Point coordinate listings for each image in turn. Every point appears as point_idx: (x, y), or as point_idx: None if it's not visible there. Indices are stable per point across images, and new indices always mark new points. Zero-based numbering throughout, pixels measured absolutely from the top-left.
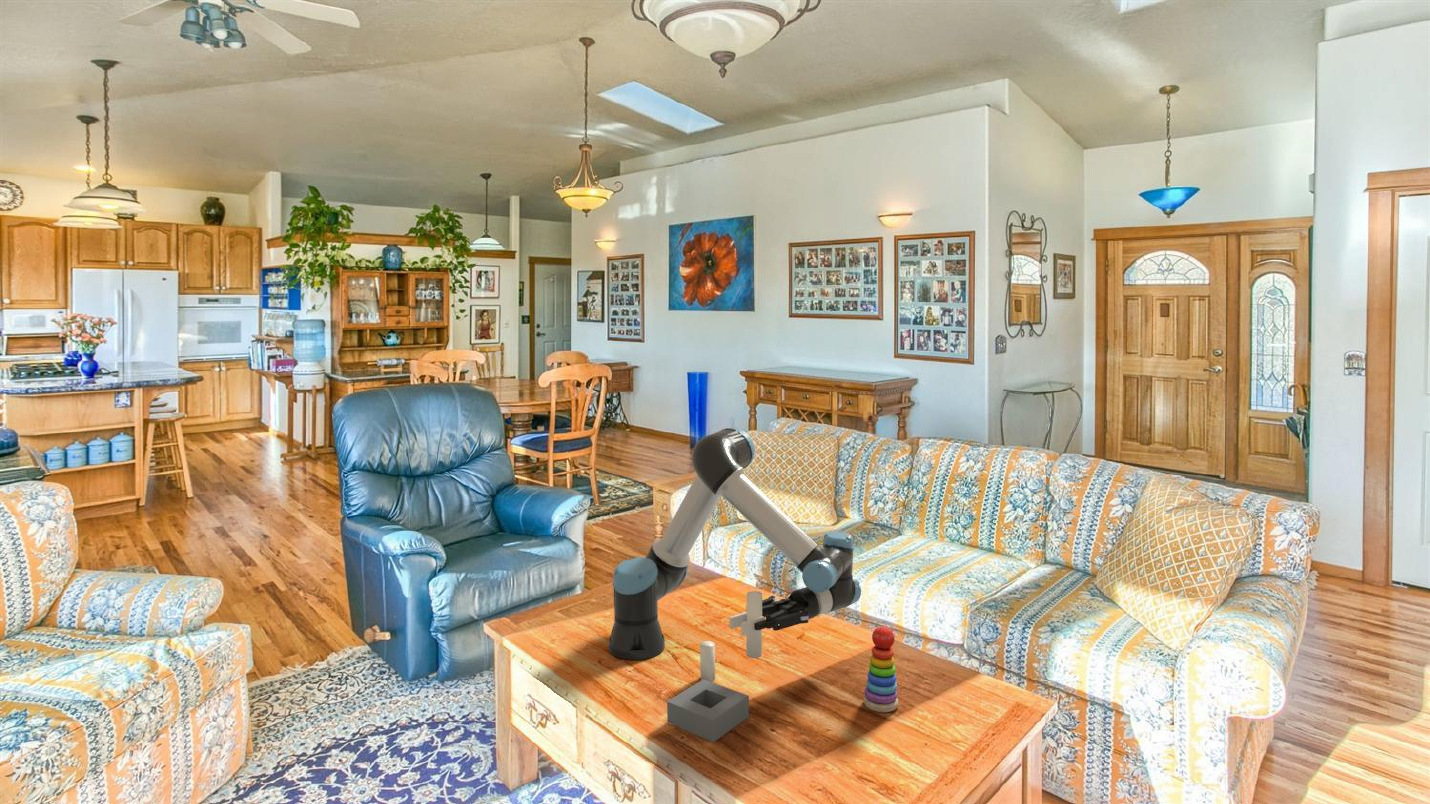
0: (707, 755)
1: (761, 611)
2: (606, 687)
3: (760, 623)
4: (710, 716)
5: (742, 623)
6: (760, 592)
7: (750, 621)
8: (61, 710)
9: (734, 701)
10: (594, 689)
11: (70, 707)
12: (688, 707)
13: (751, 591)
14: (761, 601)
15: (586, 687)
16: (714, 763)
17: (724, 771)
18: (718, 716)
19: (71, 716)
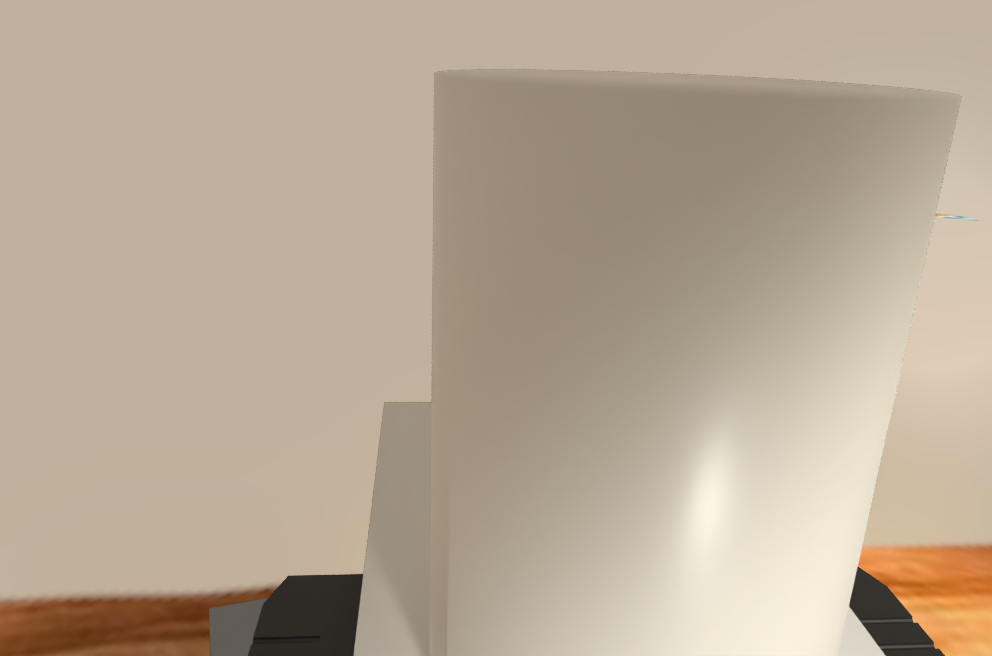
0: (171, 646)
1: (450, 602)
2: (959, 599)
3: (271, 632)
4: (251, 615)
5: (407, 404)
6: (749, 95)
7: (383, 475)
8: (956, 215)
9: None
10: (943, 565)
11: (964, 217)
12: None
13: (922, 90)
14: (461, 309)
15: (967, 553)
16: (101, 639)
17: (22, 639)
18: (213, 641)
19: (937, 216)
